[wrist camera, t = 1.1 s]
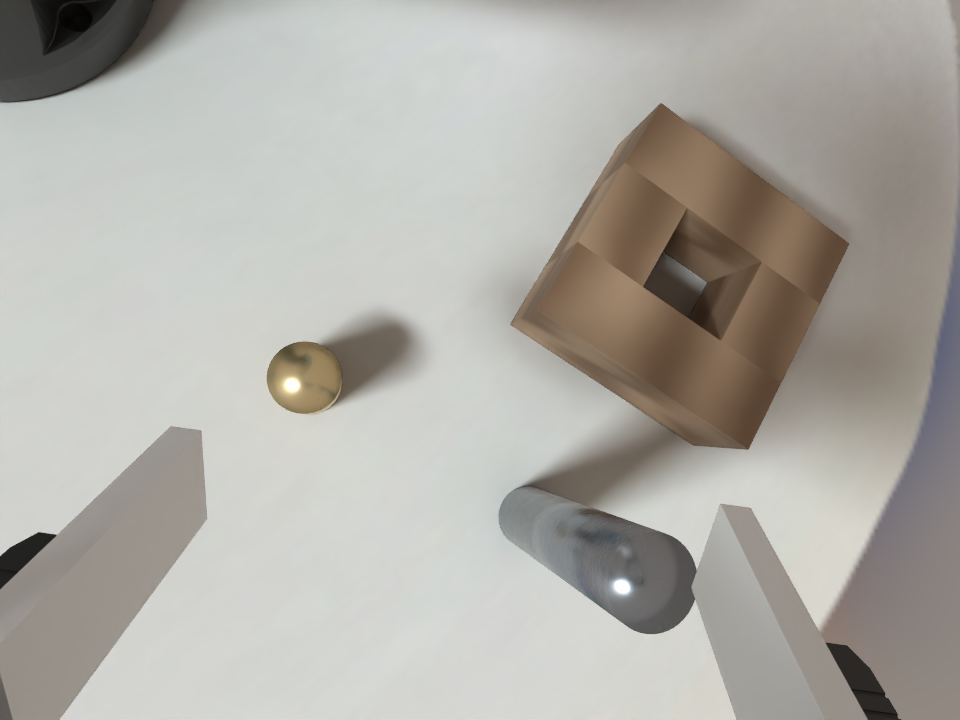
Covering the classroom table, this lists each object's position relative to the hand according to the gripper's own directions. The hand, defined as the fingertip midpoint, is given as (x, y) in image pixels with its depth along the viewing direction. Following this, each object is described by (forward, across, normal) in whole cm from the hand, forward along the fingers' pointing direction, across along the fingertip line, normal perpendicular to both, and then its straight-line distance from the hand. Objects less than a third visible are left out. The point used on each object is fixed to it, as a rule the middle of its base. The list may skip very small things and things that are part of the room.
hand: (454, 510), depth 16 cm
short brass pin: (+15, -8, -5) cm, 18 cm away
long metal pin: (+15, +4, -11) cm, 19 cm away
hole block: (+23, +10, 0) cm, 25 cm away
